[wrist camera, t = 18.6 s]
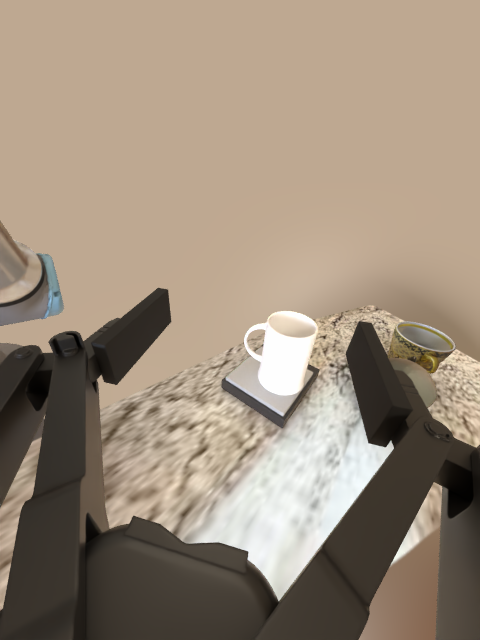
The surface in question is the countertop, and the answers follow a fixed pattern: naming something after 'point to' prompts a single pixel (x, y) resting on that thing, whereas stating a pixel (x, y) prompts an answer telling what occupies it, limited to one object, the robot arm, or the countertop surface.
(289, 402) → the scale
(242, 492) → the countertop surface
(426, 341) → the ceramic cup
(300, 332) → the mug
